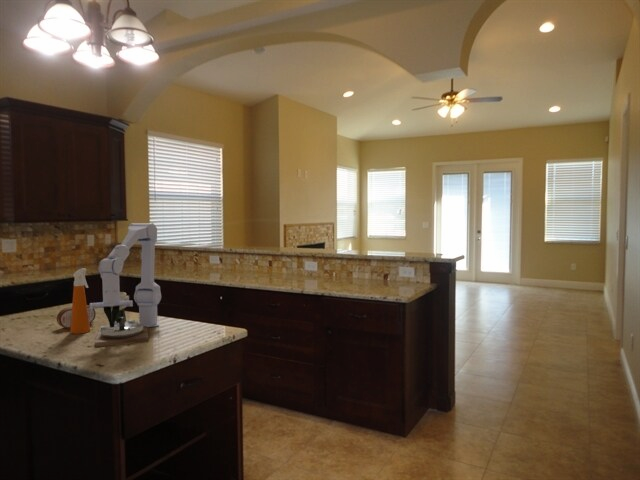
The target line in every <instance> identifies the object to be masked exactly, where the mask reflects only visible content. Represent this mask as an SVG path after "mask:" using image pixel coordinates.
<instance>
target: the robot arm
mask: <svg viewBox="0 0 640 480" xmlns="http://www.w3.org/2000/svg"><path fill="white" fill-rule="evenodd" d="M157 242H158V228H157V226H156V224H155V223H154V222H150V223H148V222H147V223H146V222H145V223H141V222H140V223H139V222H137V223H136V222H132V223H130V224H129V226H128V227H127V234H126V235H125V238H124V239H123V241H121V244H117V245H115V246H114V247H113V249H112V251H111V252H110V253H109V255H107V257H106V258H103V259H101V260H100V261H99V263H98V267H97V268H98V272H99V274H100V278H101V280H102V301H100V302H90V303H89V306H90V309H94V310H95V309H103V312H104V314H105V316H106V318H107V320H108V323H109V324H110V327H114V324H115V319H116V316H117V314H118V311H119V308H120V307H125V306H126V307H133V306H134V305H133V304H134V302H133V300H129V301H120V292H121V290H120V288H121V287H120V273H121V272H122V271H123V269H124V268H123V267H124V265H125V261H126V259H127V258H128V257H129V255H130V253H131V252H130V249H131V248H132V247H133V246H134V245H135V243H139V244H140V245H141V268H140V269H141V271H140V272H141V273H140V274H141V275H140V277H141V278H140V279H141V280H140V282H139V283H138V284H137V285H136V286H135V291H134V294H133V299H134V301H135V303H136V304H137V305H136V306H138V317H139V319H138V320H139V321H138V322H137V323H142V322H143V326H147V328H151V327H159V326H160V325H159V320H158V305H159V304H160V302H161V300H162V293H161V292H162V291H161V286H160V285H159V284H157V283H156V282H155V261H156V260H155V258H156V257H155V255H156V254H155V250H156V249H155V248H156V246H155V245H156V243H157ZM126 307H125V308H126ZM109 324H108V325H109Z"/></svg>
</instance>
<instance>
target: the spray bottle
mask: <svg viewBox="0 0 640 480" xmlns="http://www.w3.org/2000/svg"><path fill="white" fill-rule="evenodd" d="M86 272H87V268H85V267H84V268H83V267H81V268H79V269H77V270H76V271H74V273H73V278H74V281H73V292H72V304H71V305H72V306H71V307H72V317H71V328H70V333H71V334H73V335H75V334H76V335H79V334H86V333H88V332H90V331H91V326H90V324H89V318H88V311H87V305H88V304H87V297H86V291H85V288H86V289H88V288H90V287H89V285H88V283H87V280H86Z"/></svg>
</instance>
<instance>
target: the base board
mask: <svg viewBox="0 0 640 480" xmlns="http://www.w3.org/2000/svg"><path fill="white" fill-rule="evenodd" d="M143 342H144V343H145V342H149V335H148V327H147V326H143V332H142V333H141V334H139V335H136V336H132V337H127V338H104V337H102V336H101V329H99V330H97V334H96V338H95V341H94V346H95V348H96V347H107V346H113V345H114V346H115V345H125V344H133V343H143Z"/></svg>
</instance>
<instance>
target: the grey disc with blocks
mask: <svg viewBox="0 0 640 480" xmlns="http://www.w3.org/2000/svg"><path fill="white" fill-rule="evenodd" d="M100 330H101V336H102V337H104V338H127V337H132V336H136V335H139V334H141V333H142V332H143V322H142V323H138V322H137V321H136V320H135V319H129V320H127V321H126V322H125V317H119V323H117V322H116V321H115V324H114V327H110V324H107V325H100Z"/></svg>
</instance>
